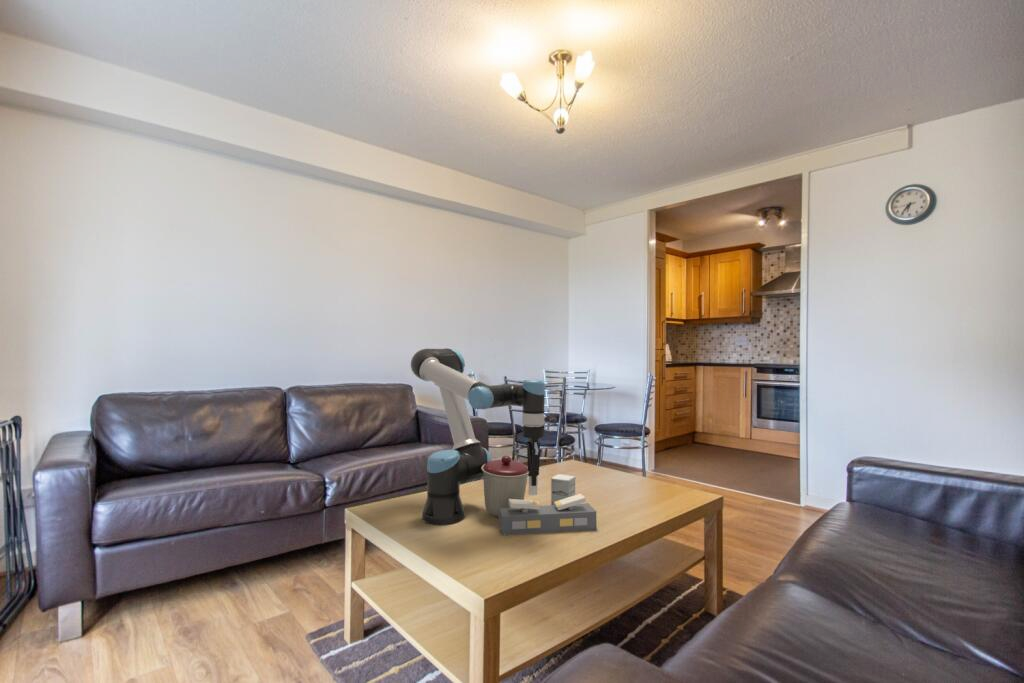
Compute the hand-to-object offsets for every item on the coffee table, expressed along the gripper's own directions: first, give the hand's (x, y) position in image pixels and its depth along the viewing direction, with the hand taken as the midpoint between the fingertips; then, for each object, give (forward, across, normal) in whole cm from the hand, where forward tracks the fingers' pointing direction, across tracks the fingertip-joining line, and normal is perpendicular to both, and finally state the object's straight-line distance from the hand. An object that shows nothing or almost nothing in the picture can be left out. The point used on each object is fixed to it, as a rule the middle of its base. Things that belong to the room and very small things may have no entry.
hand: (533, 494), depth 162 cm
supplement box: (+12, +16, -15) cm, 25 cm away
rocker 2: (+3, 0, -13) cm, 13 cm away
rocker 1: (+3, 0, +3) cm, 4 cm away
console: (+11, 0, -5) cm, 12 cm away
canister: (+11, +16, +8) cm, 21 cm away
